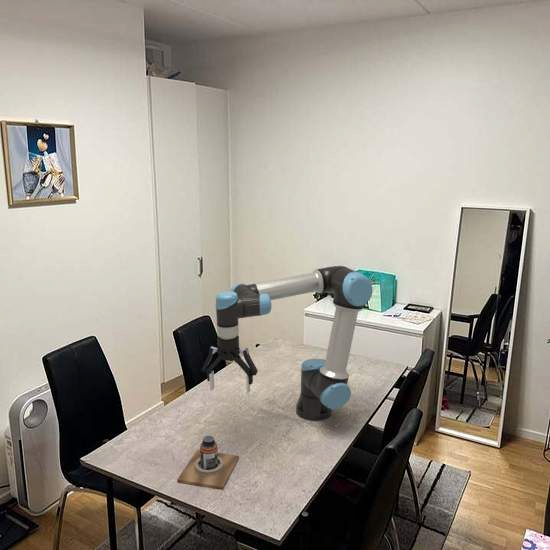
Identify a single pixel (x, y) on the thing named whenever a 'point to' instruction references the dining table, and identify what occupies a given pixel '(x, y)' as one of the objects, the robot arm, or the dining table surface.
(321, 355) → the dining table surface
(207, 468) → the supplement bottle
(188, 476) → the ring board
